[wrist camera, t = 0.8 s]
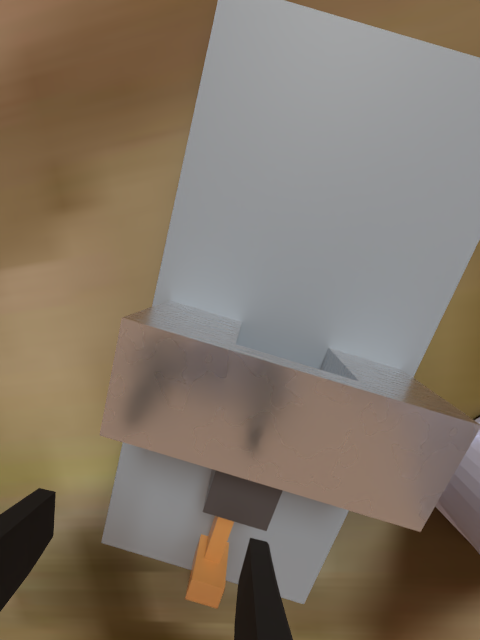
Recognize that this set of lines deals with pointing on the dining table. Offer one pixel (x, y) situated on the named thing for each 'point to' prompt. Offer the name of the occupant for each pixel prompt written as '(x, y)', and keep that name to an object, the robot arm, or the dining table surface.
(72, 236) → the dining table surface
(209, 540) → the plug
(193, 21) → the dining table surface
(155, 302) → the board
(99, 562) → the dining table surface
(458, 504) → the robot arm
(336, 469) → the grey arch block
